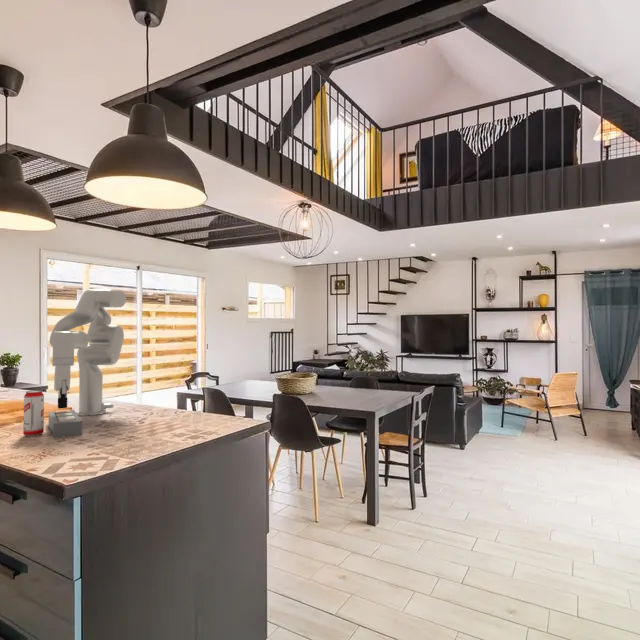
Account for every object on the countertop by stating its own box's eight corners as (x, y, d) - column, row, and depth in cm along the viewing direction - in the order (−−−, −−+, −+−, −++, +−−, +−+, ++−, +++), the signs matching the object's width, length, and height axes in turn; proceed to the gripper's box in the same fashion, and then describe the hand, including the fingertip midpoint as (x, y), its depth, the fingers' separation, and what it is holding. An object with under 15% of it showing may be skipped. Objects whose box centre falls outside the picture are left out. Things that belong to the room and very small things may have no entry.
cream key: (73, 422, 171) (73, 415, 171) (74, 425, 167) (75, 418, 167) (58, 424, 168) (58, 417, 168) (59, 426, 164) (59, 419, 164)
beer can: (41, 432, 169) (41, 389, 169) (45, 435, 164) (46, 391, 165) (21, 435, 164) (22, 391, 165) (25, 438, 160) (26, 392, 160)
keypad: (73, 421, 187) (73, 409, 187) (81, 434, 165) (82, 420, 165) (48, 424, 182) (48, 412, 182) (53, 437, 160) (53, 423, 160)
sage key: (71, 419, 177) (71, 412, 177) (72, 421, 173) (72, 414, 173) (56, 420, 174) (56, 413, 174) (57, 422, 170) (57, 416, 170)
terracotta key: (69, 415, 184) (69, 409, 184) (70, 417, 180) (70, 411, 180) (54, 417, 181) (54, 410, 181) (55, 419, 177) (55, 412, 177)
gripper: (51, 361, 185) (50, 406, 184) (53, 363, 172) (52, 411, 172) (71, 360, 189) (71, 404, 189) (75, 362, 177) (75, 409, 176)
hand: (62, 407), depth 180 cm, fingers closed
